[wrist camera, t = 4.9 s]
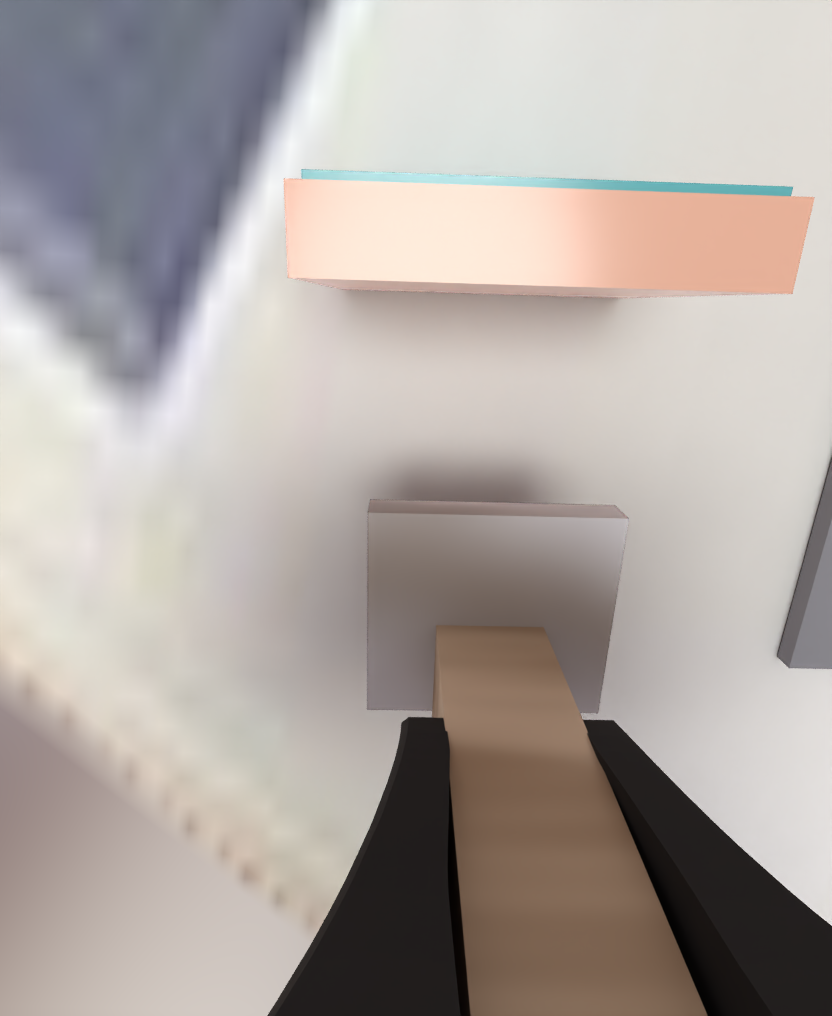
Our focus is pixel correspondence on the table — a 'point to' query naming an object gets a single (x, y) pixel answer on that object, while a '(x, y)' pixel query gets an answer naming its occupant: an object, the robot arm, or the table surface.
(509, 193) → the tile
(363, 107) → the table surface
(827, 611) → the mat
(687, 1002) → the grey square paddle
